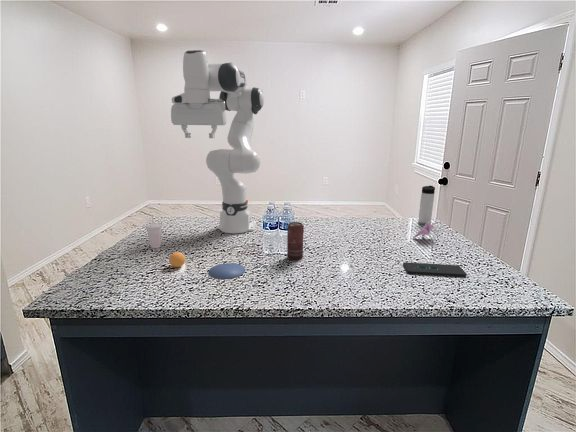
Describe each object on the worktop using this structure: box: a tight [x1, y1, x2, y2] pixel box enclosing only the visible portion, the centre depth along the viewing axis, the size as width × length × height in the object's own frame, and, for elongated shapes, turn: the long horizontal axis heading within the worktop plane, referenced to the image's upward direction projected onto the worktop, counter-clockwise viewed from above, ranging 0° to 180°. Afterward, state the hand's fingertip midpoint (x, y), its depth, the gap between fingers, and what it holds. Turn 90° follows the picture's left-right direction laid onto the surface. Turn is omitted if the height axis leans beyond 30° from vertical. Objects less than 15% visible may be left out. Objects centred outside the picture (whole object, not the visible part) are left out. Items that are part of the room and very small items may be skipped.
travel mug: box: [417, 185, 436, 226], centre depth 178 cm, size 6×7×20 cm
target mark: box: [207, 262, 246, 280], centre depth 121 cm, size 13×13×1 cm
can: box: [286, 221, 305, 261], centre depth 131 cm, size 6×6×14 cm
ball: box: [168, 251, 186, 268], centre depth 123 cm, size 6×6×6 cm
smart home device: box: [402, 261, 468, 278], centre depth 123 cm, size 8×2×20 cm
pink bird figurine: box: [412, 221, 438, 243], centre depth 154 cm, size 12×12×10 cm
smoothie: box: [145, 215, 163, 249], centre depth 142 cm, size 6×6×14 cm
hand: (199, 138), depth 125 cm, fingers open, 8 cm apart
